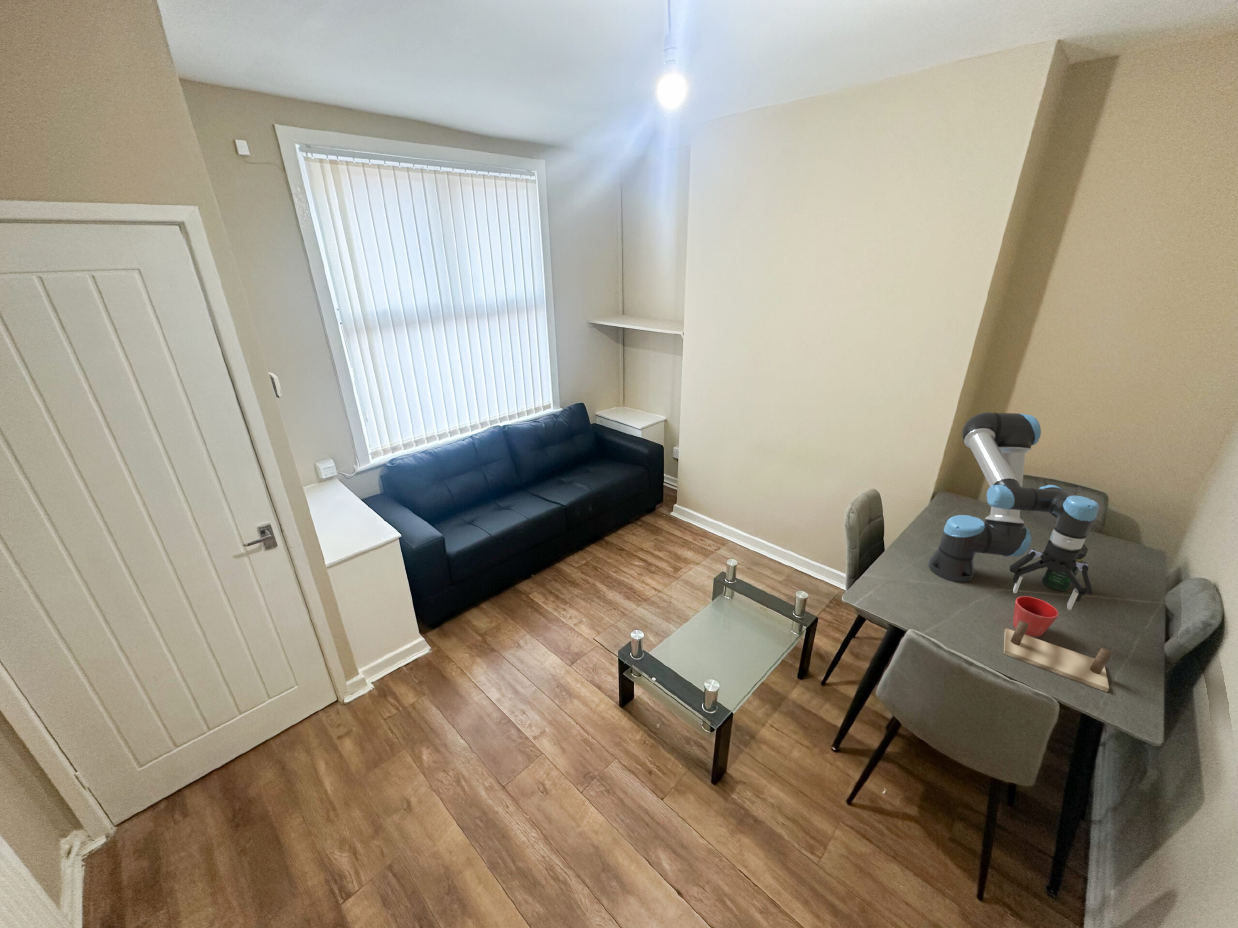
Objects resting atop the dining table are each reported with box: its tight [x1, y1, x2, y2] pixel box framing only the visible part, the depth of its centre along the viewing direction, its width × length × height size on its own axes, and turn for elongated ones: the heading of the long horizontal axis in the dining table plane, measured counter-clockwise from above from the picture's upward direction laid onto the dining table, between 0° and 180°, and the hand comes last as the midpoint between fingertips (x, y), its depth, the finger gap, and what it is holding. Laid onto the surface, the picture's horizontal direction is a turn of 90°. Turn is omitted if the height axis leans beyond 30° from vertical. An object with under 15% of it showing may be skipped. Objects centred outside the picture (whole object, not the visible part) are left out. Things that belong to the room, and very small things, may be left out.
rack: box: [1003, 621, 1113, 693], centre depth 145 cm, size 24×12×10 cm, turn 52°
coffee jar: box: [1041, 543, 1089, 592], centre depth 175 cm, size 10×8×19 cm
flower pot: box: [1012, 595, 1060, 638], centre depth 157 cm, size 11×11×10 cm
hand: (1041, 599), depth 154 cm, fingers open, 13 cm apart
